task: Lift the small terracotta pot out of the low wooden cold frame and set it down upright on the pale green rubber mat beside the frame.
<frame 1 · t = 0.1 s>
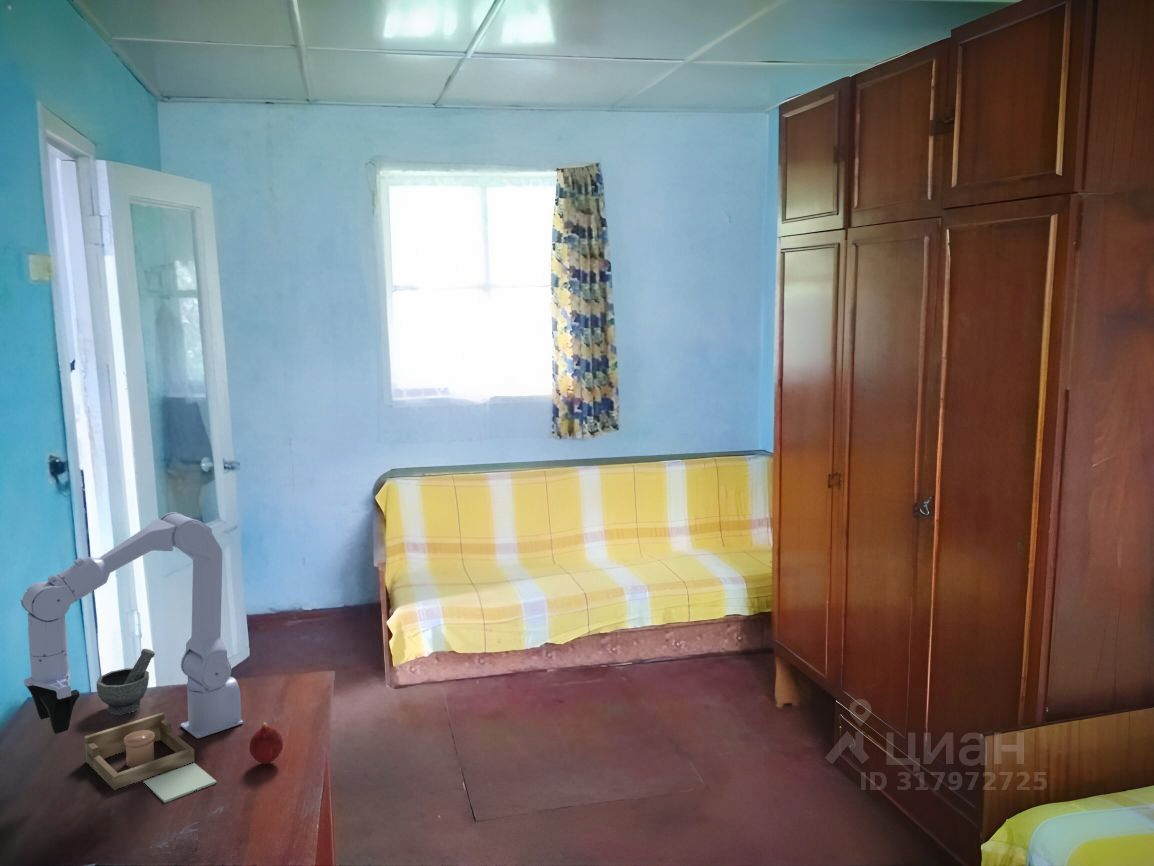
hand: (53, 724, 155), 10 cm above the table, tool pointing down, fingers open, 7 cm apart
mat: (180, 783, 156), on the table
onion: (266, 765, 163), on the table
pot: (140, 762, 163), resting in cold frame
cold frame: (140, 762, 162), on the table
mortar and pestle: (128, 708, 184), on the table
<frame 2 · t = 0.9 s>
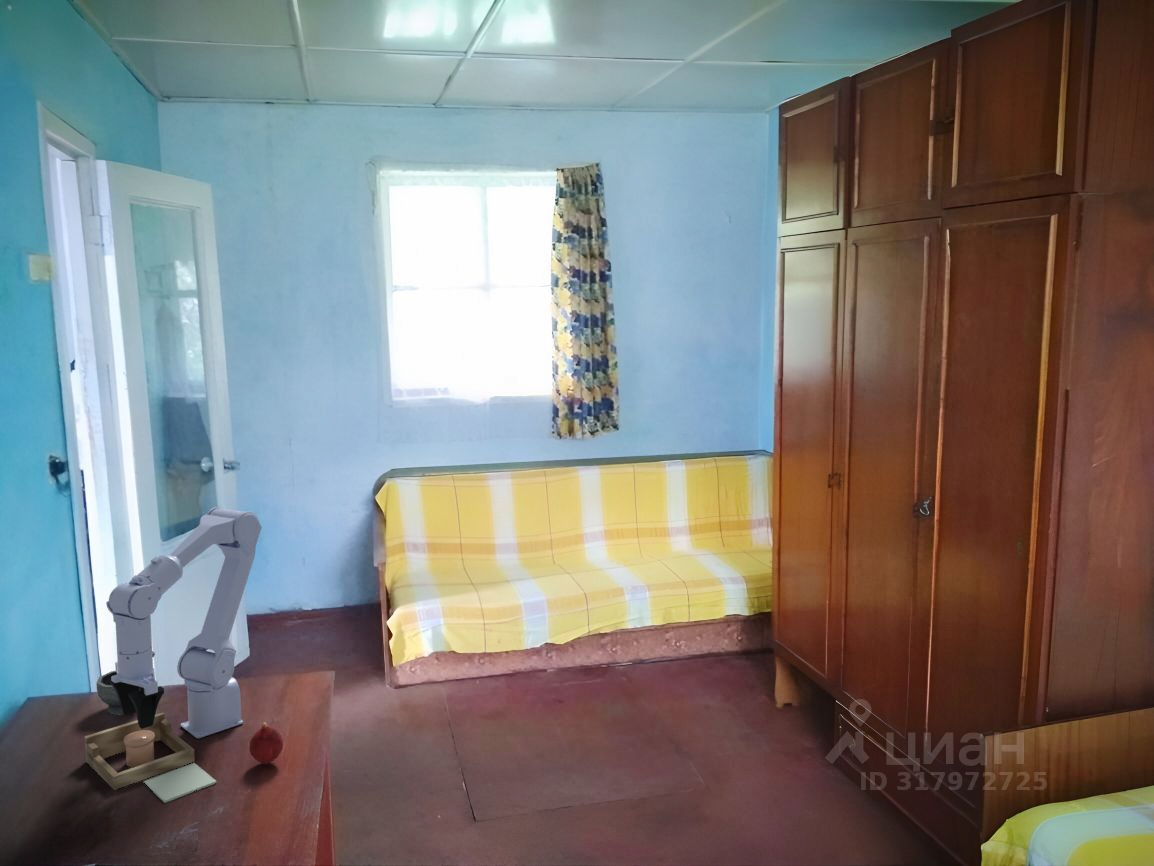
hand: (138, 719, 161), 8 cm above the table, tool pointing down, fingers open, 7 cm apart
nothing on the table moved.
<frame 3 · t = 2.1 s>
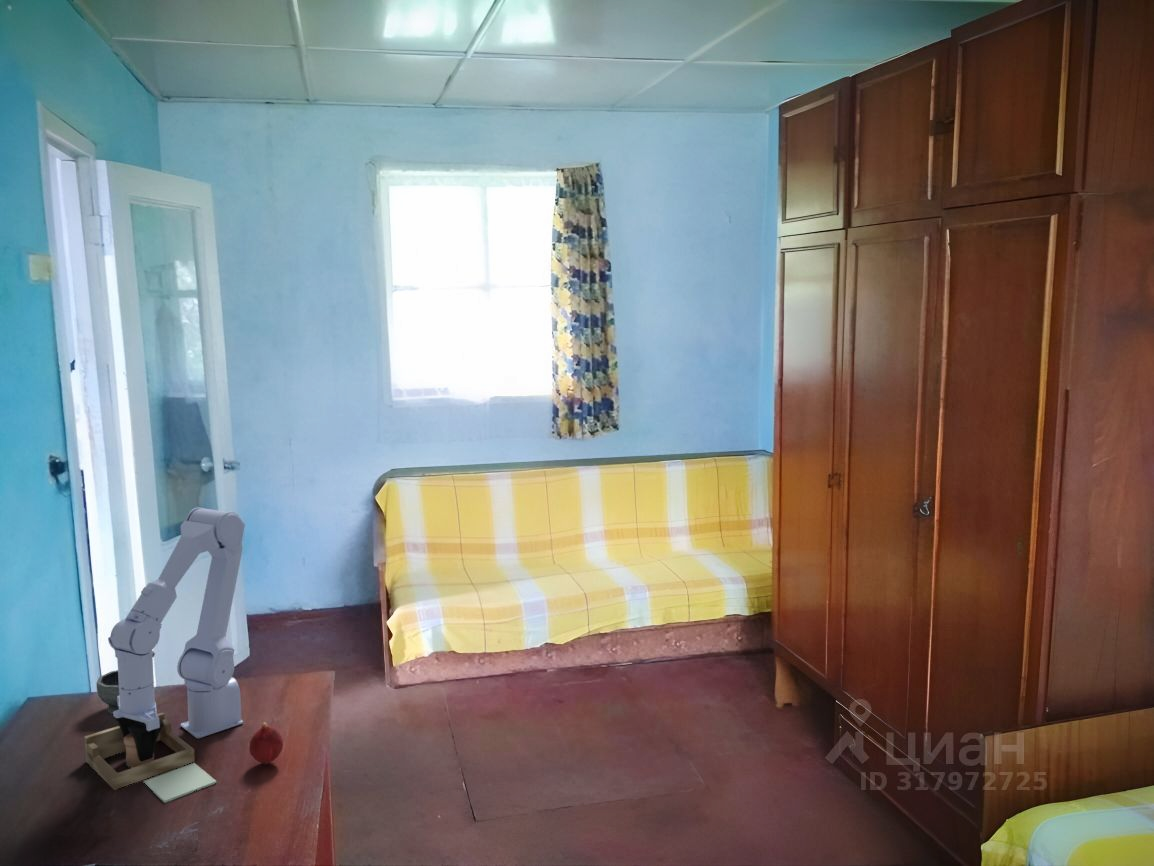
hand: (140, 753, 162), 2 cm above the table, tool pointing down, fingers closed on pot, 5 cm apart
pot: (140, 762, 162), resting in cold frame, touching gripper
everything else where it was.
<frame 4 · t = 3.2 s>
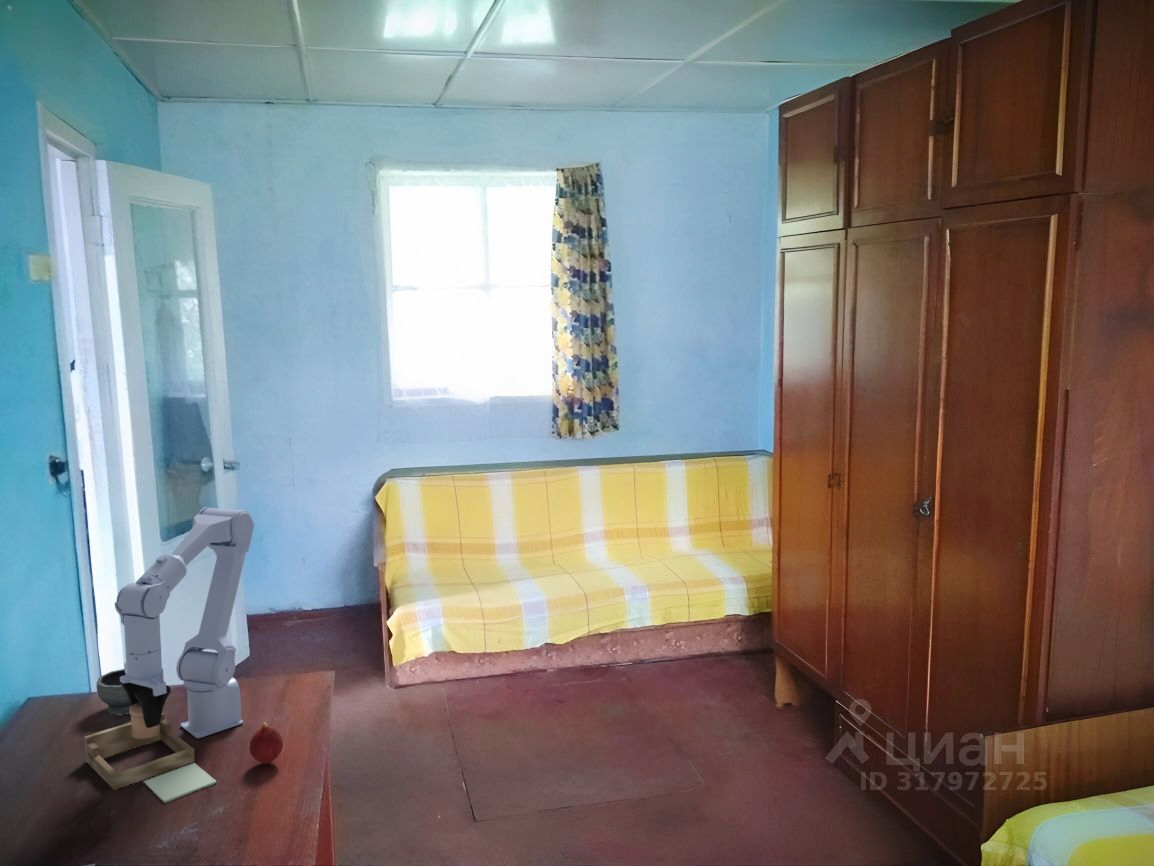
hand: (146, 720, 160), 9 cm above the table, tool pointing down, fingers closed on pot, 5 cm apart
pot: (145, 732, 160), point 7 cm above the table, touching gripper
everything else where it was.
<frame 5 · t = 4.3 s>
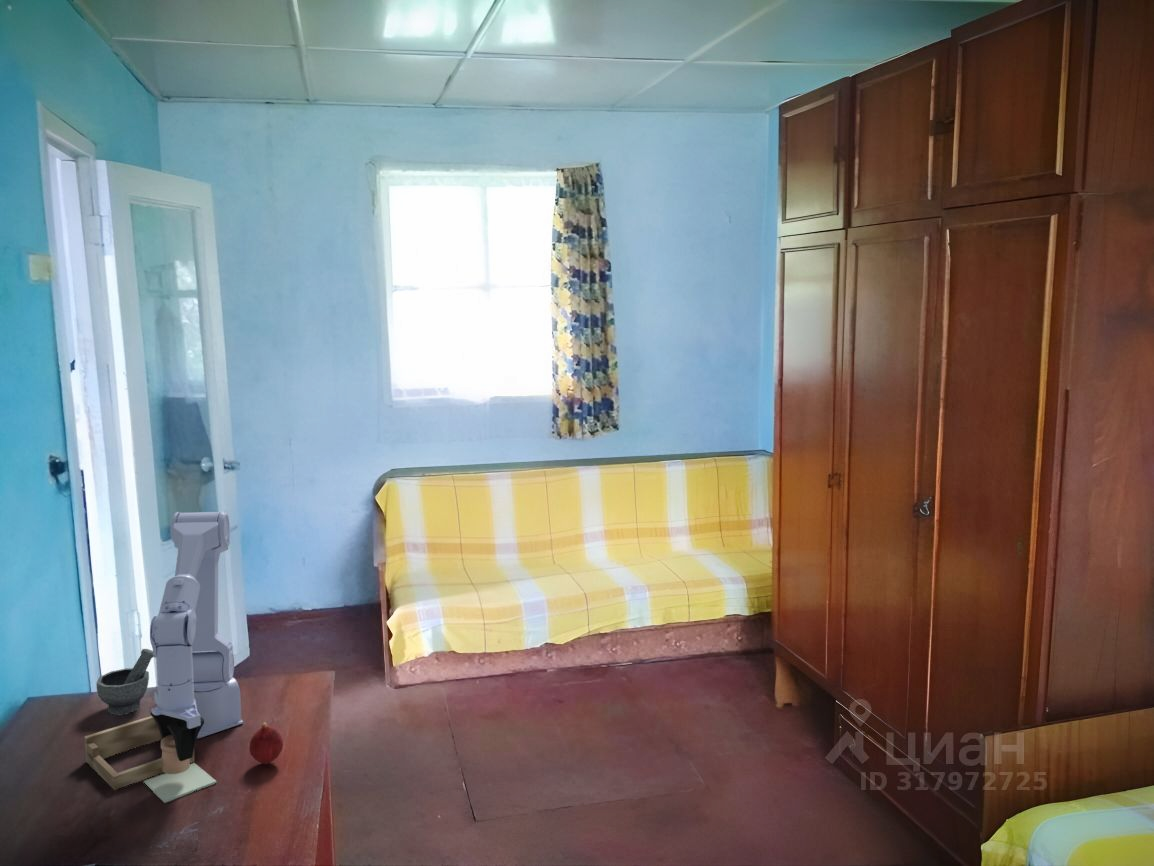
hand: (178, 753, 155), 6 cm above the table, tool pointing down, fingers closed on pot, 5 cm apart
pot: (175, 766, 155), point 3 cm above the table, tilted 6°, touching gripper
everything else where it was.
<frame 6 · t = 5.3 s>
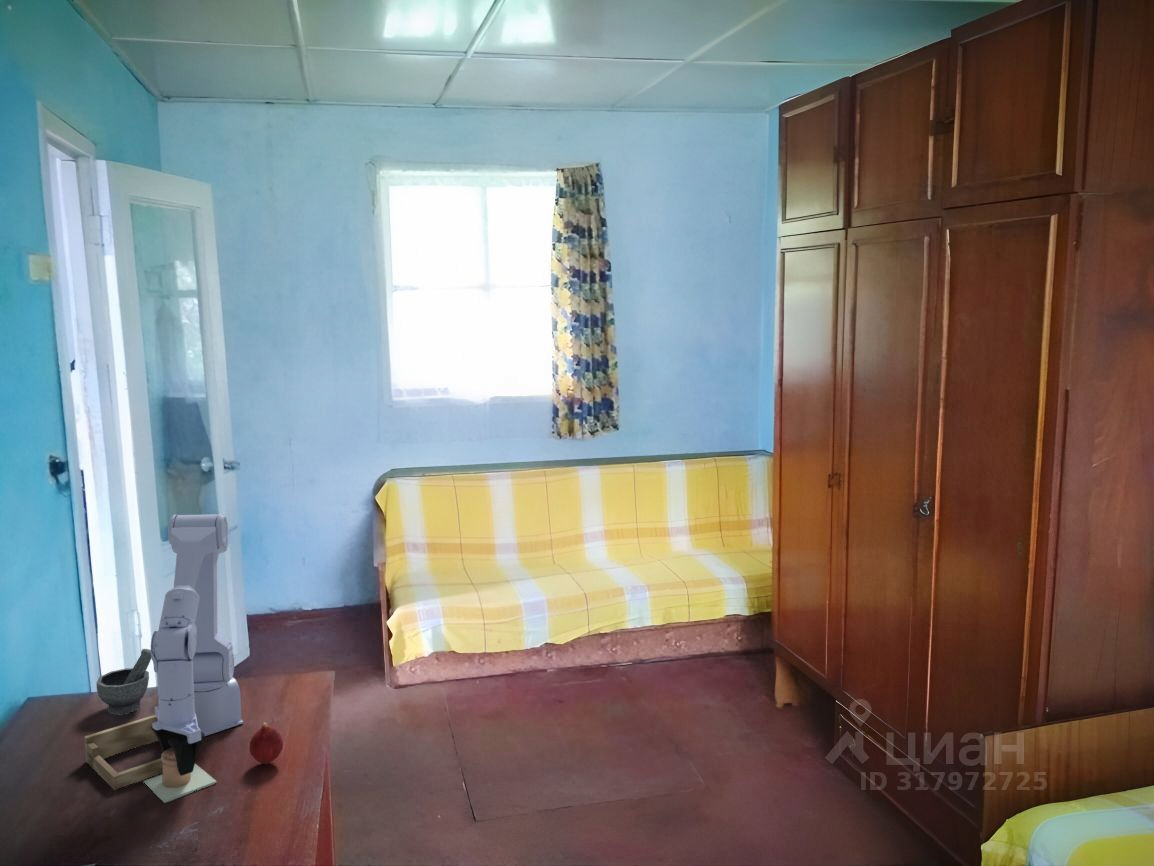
hand: (179, 767, 155), 3 cm above the table, tool pointing down, fingers closed on pot, 5 cm apart
pot: (176, 779, 155), point 1 cm above the table, tilted 6°, touching gripper, mat
everything else where it was.
when the fingers open (3 cm above the table, at t = 5.3 s): pot stays where it is, resting on mat.
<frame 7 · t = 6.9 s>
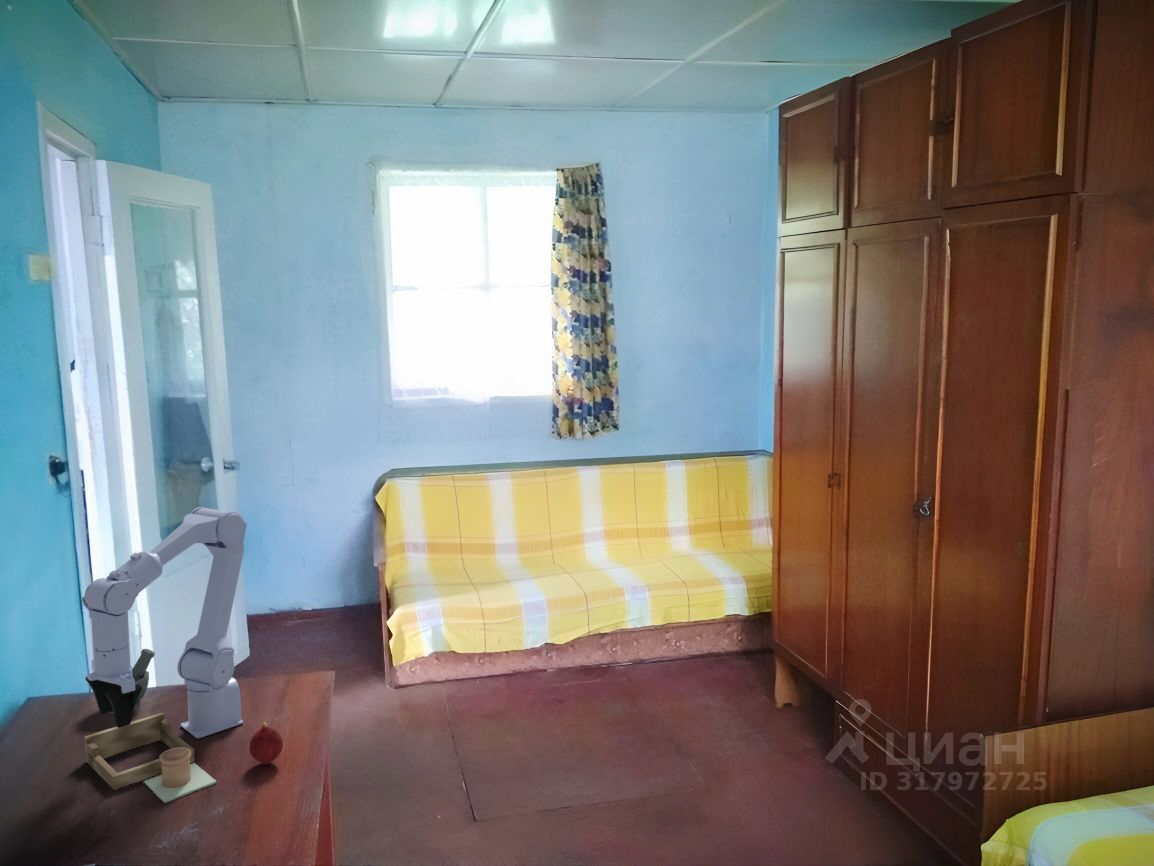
hand: (115, 718, 157), 10 cm above the table, tool pointing down, fingers open, 7 cm apart
pot: (176, 781, 155), resting on mat
everything else where it was.
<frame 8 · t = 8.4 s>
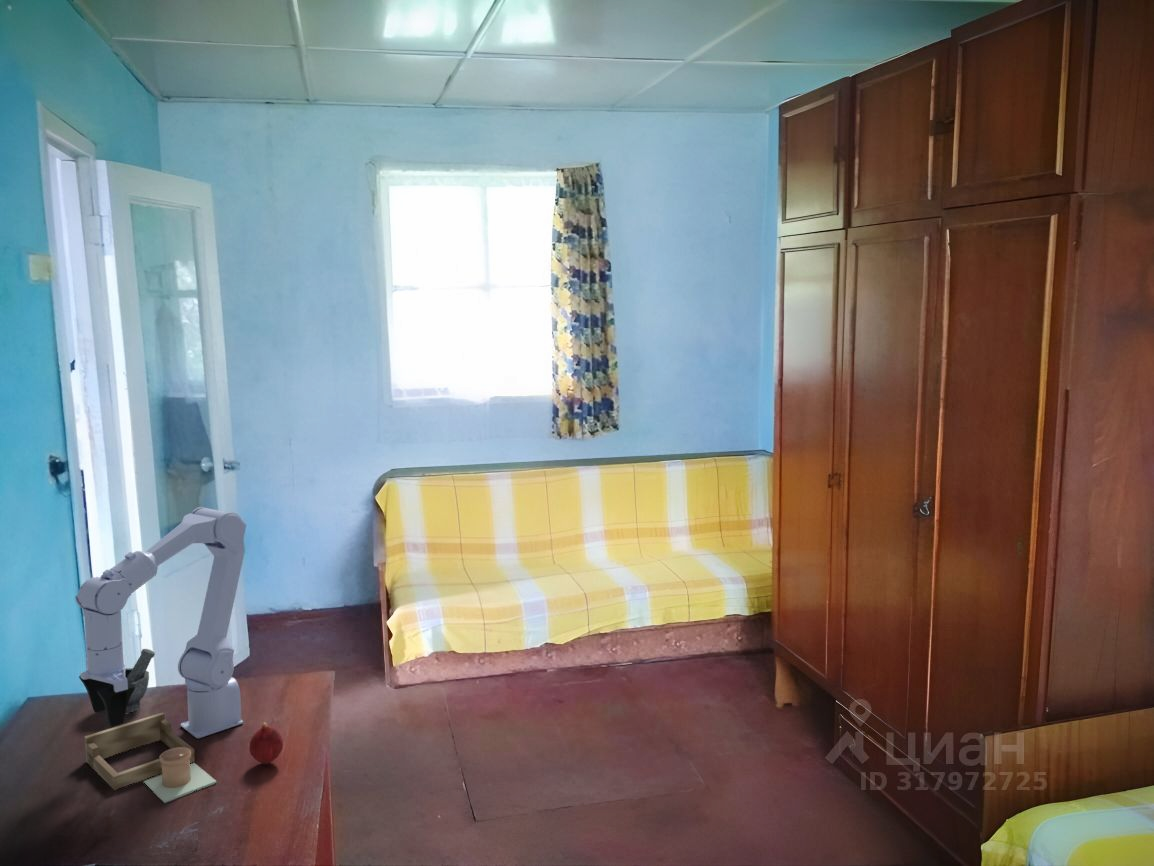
hand: (108, 717, 157), 10 cm above the table, tool pointing down, fingers open, 7 cm apart
nothing on the table moved.
at the end: pot inside the target area on the mat (0.6 cm from its centre), point 0.4 cm above the mat's base; pot tilted 0°; the gripper is holding nothing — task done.
